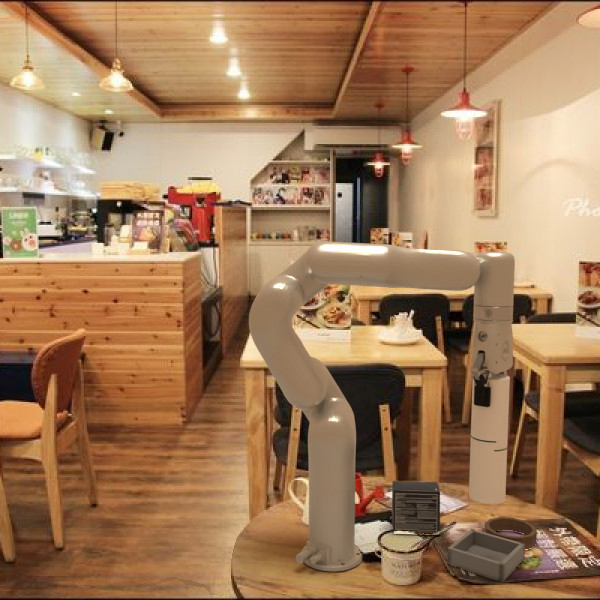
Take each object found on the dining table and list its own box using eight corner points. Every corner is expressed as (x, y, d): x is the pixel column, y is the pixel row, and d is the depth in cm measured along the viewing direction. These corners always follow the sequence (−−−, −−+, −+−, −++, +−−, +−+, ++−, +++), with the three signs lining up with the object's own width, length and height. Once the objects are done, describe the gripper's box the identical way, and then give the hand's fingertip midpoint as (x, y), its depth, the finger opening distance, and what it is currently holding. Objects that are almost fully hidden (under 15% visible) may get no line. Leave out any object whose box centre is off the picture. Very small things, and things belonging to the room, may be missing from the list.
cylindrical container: (467, 489, 142) (470, 372, 140) (502, 492, 141) (506, 373, 139) (470, 503, 135) (474, 379, 133) (508, 505, 134) (512, 380, 132)
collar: (525, 556, 142) (525, 542, 142) (477, 542, 148) (477, 528, 148) (542, 538, 150) (543, 525, 150) (496, 526, 157) (496, 513, 156)
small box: (437, 524, 157) (438, 480, 157) (440, 537, 151) (441, 491, 150) (391, 522, 159) (392, 479, 158) (392, 535, 152) (393, 489, 151)
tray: (502, 582, 131) (503, 565, 131) (447, 564, 138) (447, 548, 138) (524, 560, 140) (524, 543, 140) (471, 544, 147) (471, 528, 147)
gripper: (493, 319, 125) (490, 414, 127) (527, 312, 139) (524, 397, 141) (456, 316, 130) (453, 407, 132) (492, 309, 144) (489, 392, 145)
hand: (490, 401), depth 136 cm, fingers closed on cylindrical container, 7 cm apart
